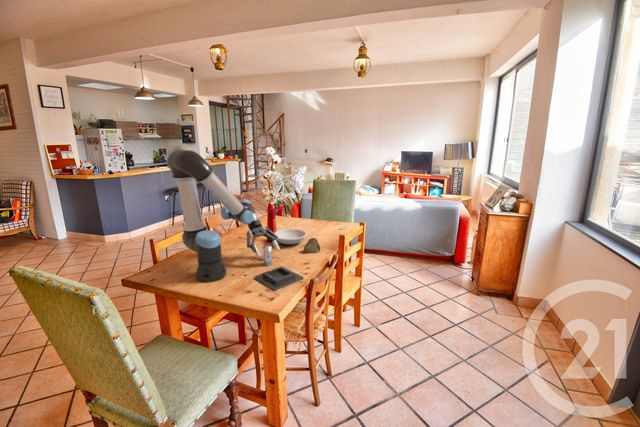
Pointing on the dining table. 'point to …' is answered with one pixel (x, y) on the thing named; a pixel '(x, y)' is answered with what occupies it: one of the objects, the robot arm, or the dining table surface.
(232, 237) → the dining table surface
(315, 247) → the rock
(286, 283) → the socket plate
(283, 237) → the soup bowl
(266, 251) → the steel roller
